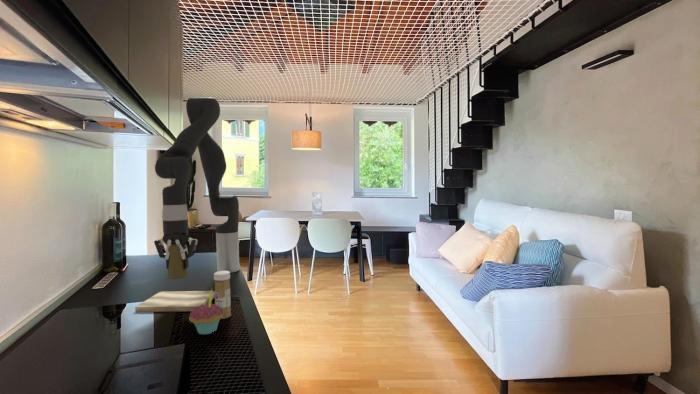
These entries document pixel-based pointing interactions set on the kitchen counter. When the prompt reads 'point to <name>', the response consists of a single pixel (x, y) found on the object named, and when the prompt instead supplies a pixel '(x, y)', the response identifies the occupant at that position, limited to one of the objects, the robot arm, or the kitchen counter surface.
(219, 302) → the sprinkles bottle
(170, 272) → the cork
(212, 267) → the kitchen counter surface
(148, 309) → the birch board
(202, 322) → the cupcake
